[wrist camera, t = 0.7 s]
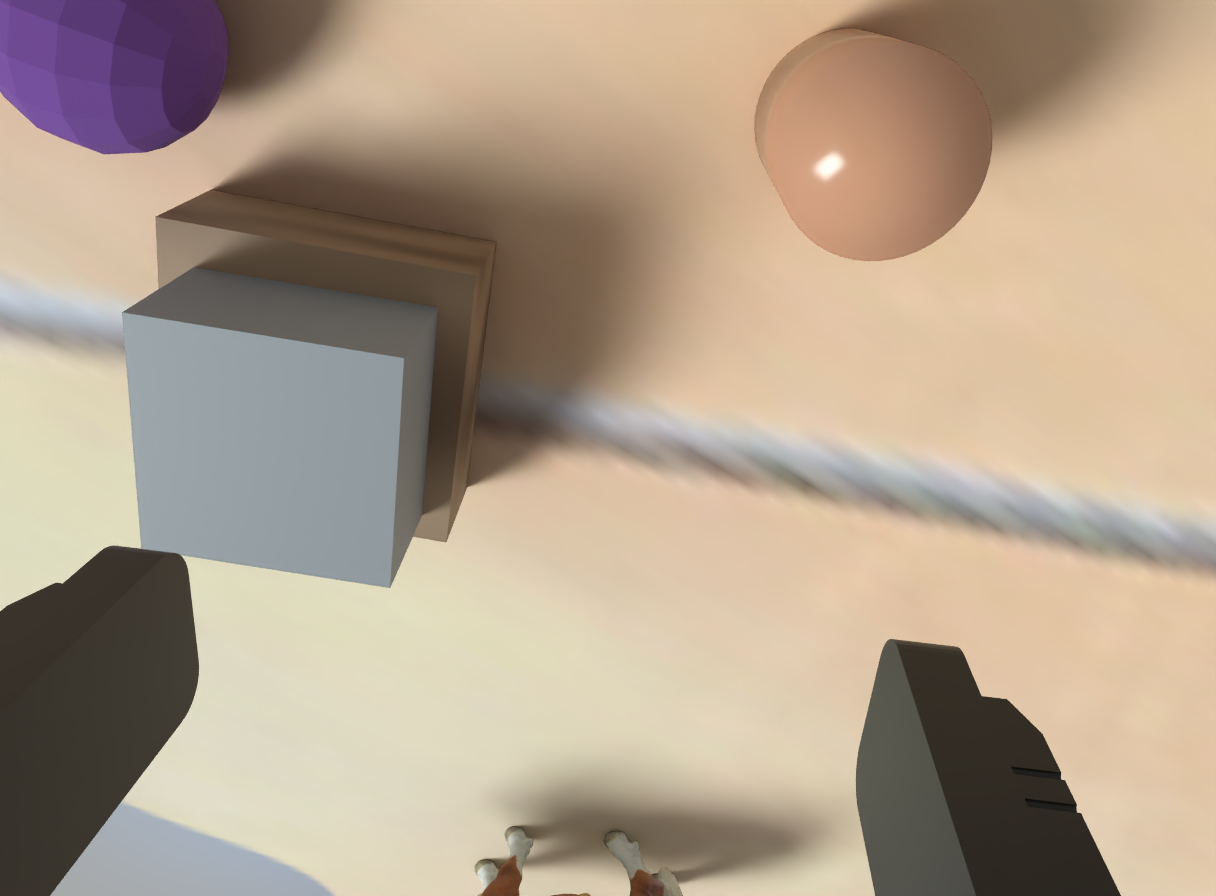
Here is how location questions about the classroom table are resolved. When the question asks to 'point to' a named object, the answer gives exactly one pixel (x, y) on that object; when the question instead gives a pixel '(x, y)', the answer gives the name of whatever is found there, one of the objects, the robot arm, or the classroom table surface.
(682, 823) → the classroom table surface
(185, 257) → the bottom block
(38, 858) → the robot arm
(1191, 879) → the classroom table surface
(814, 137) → the terracotta cylinder
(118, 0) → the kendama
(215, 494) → the top block
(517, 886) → the bull figurine
